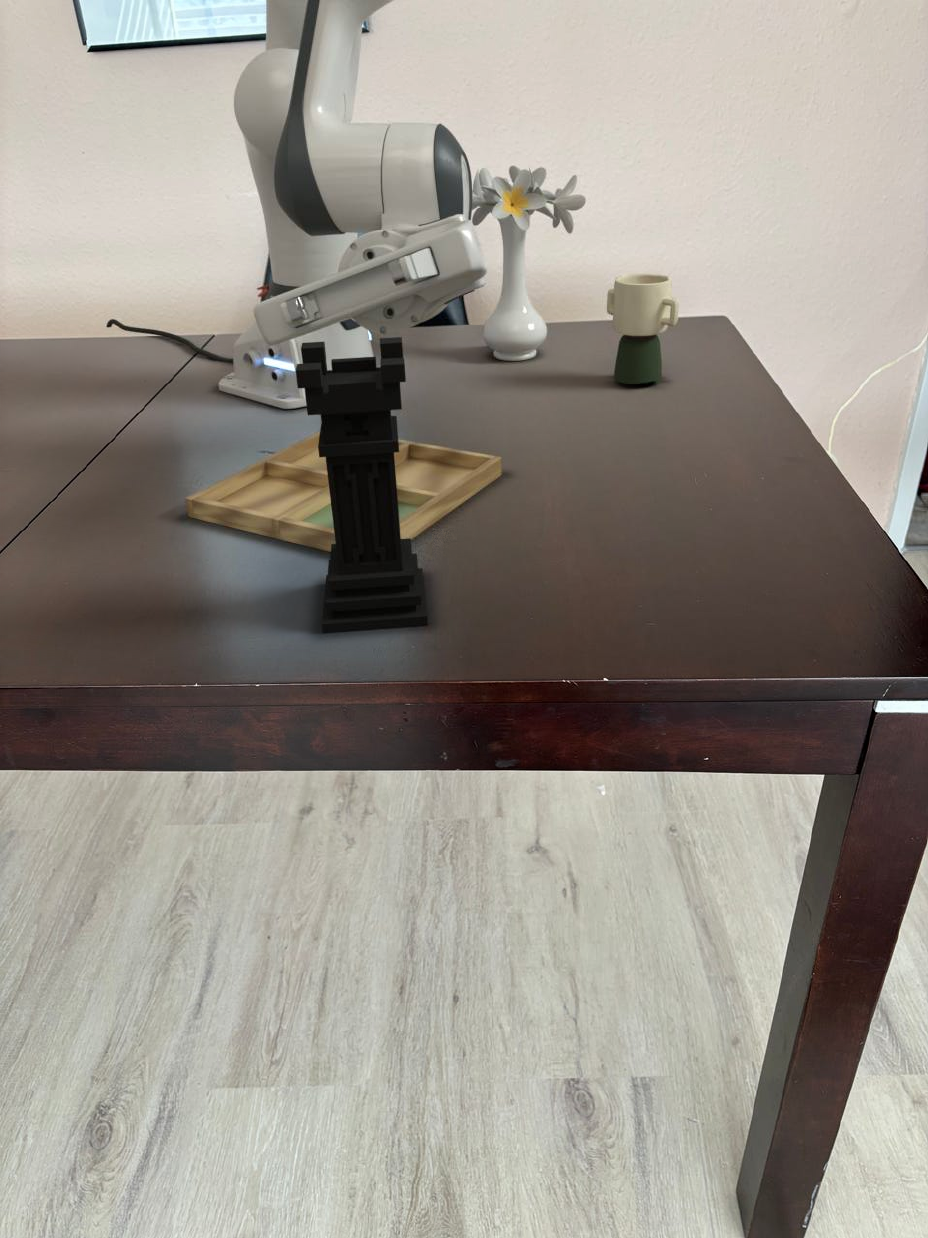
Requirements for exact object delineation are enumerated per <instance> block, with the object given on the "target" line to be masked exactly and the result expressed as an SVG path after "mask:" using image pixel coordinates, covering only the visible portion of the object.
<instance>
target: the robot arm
mask: <svg viewBox="0 0 928 1238" xmlns="http://www.w3.org/2000/svg"><path fill="white" fill-rule="evenodd" d="M394 1H395V0H265V6H266V7H265V10H266V12H265V14H266V15H265V16H266V17H265V19H266V22H265V23H266V24H265V25H266V27H265V50H264V51H263V52H260V53H259V54H258V55H256V56H255V57H254V58H252V59H251V60H250V61H249V63H248V64H247V65H246V66H245V68H244V69H243V71H242V72H241V74H240V76H239V78H238V80H237V83H236V86H235V89H234V94H233V110H234V116H235V119H236V122H237V125H238V127H239V129H240V132H241V133H242V137H243V140H244V145H245V149H246V154H247V158H248V161H249V165H250V169H251V173H252V176H253V180H254V183H255V188H256V190H257V193H258V197H259V201H260V205H261V209H262V210H261V211H262V214H263V220H264V226H265V233H266V239H267V248H268V254H269V261H270V268H271V277H272V280H270V282H268V284H266V285H263V286H262V285H261V286H259V287H257V288H256V290H257V291H259V290H261V292H260V293H258V294H257V297H258V298H261V297H265V296H266V299H264V300H262V301H260V302H259V303H257V304H255V306H254V307H253V316H254V319H255V321H254V322H253V323H252V324H251V325H250V326H248V328H247V329H246V330H244V332H243V333H242V334H241V335H240V336H239V337H237V339H236V340H235V343H234V346H233V351H232V358H226V357H223V356H219V355H217V354H215V353H212V352H210V351H207V350H205V349H202V348H200V347H198V346H196V345H195V344H194V343H193V342H191V341H190V340H188V339H186V338H184V337H182V336H180V335H177V334H174V333H171V332H167V331H163V330H158V329H153V328H145V327H144V328H143V327H135V326H129V325H126V324H123V323H121V322H120V321H119V320H117V319H115V318H111V319H109V320H108V321H107V323H106V328H112V326H113V325H115V326H116V327H117V328H119V329H121V330H123V331H126V332H131V333H137V334H146V335H154V336H160V337H164V338H168V339H171V340H174V341H177V342H179V343H181V344H183V345H185V346H187V347H188V348H190V349H191V350H192V351H193V352H195V353H196V354H198V355H201V356H203V357H206V358H208V359H211V360H213V361H217V362H222V363H228V364H233V372H231V373H229V374H226V376H223V377H222V378H221V379H220V380H219V382H218V391H220V392H224V393H227V394H230V395H234V396H237V397H241V398H244V399H248V400H251V401H255V402H258V403H262V404H265V405H268V406H272V407H276V408H279V409H283V410H292V409H298V408H304V407H307V405H306V397H305V389H304V388H299V389H298V386H297V378H296V367H297V364H303V362H302V354H301V346H302V343H308V342H325V351H326V363H327V370H332V365H331V360H332V359H344V358H361V357H375V356H374V351H373V347H372V343H371V341H372V334H371V333H370V332H373V333H376V334H383V335H391V334H397V333H401V332H403V331H406V330H409V329H411V328H413V327H415V326H417V325H419V324H421V323H424V322H426V321H428V320H432V319H433V318H434V317H436V316H437V315H439V314H440V313H441V312H443V311H444V310H445V309H446V308H447V307H448V305H449V304H450V303H451V302H454V301H455V300H458V299H459V298H461V297H463V296H466V295H469V294H470V293H473V292H475V291H476V290H479V289H480V288H483V287H484V286H485V285H486V284H487V282H486V281H487V280H486V276H487V274H488V268H487V264H486V261H485V257H484V253H483V251H482V246H481V244H480V241H479V238H478V235H477V232H476V229H475V225H473V223H472V213H473V212H472V211H473V210H472V190H473V180H472V171H471V166H470V162H469V159H468V155H466V152H465V151H464V149H463V146H462V145H461V144H460V142H459V141H458V139H457V138H456V137H455V135H454V134H453V133H452V132H451V131H450V130H449V129H448V127H446V126H445V125H444V124H442V123H429V122H428V123H427V122H426V123H425V122H391V123H384V122H381V123H380V122H378V123H376V122H352V118H353V115H354V114H353V113H354V108H355V107H354V106H355V100H356V91H357V83H358V82H357V81H358V74H359V67H360V58H361V57H360V56H361V46H362V37H363V36H362V34H363V24H364V22H366V21H367V20H368V19H369V18H370V17H371V16H372V15H373V14H374V13H376V12H378V11H379V10H380V9H382V8H384V7H386V6H387V5H389V4H390V3H392V2H394ZM358 234H362V235H360V236H359V237H358ZM262 290H263V291H262ZM377 367H378V366H377V365H376V368H377Z"/></svg>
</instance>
